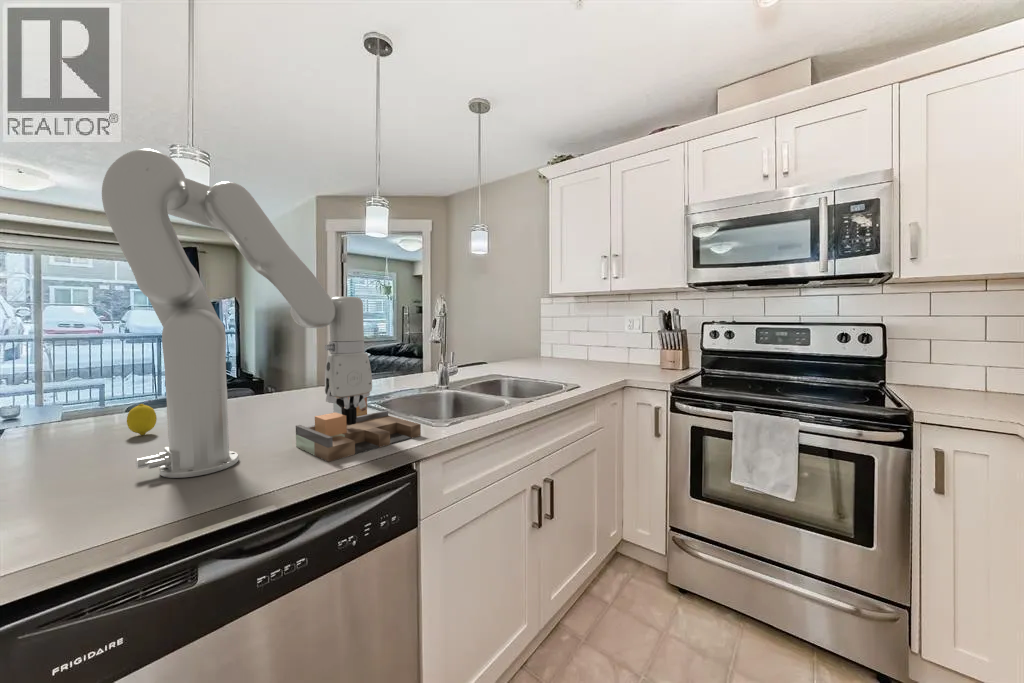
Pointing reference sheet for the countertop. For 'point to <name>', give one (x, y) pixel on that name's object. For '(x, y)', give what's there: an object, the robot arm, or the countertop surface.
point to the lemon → (141, 419)
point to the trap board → (357, 436)
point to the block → (331, 424)
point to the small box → (360, 409)
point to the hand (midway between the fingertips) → (349, 423)
